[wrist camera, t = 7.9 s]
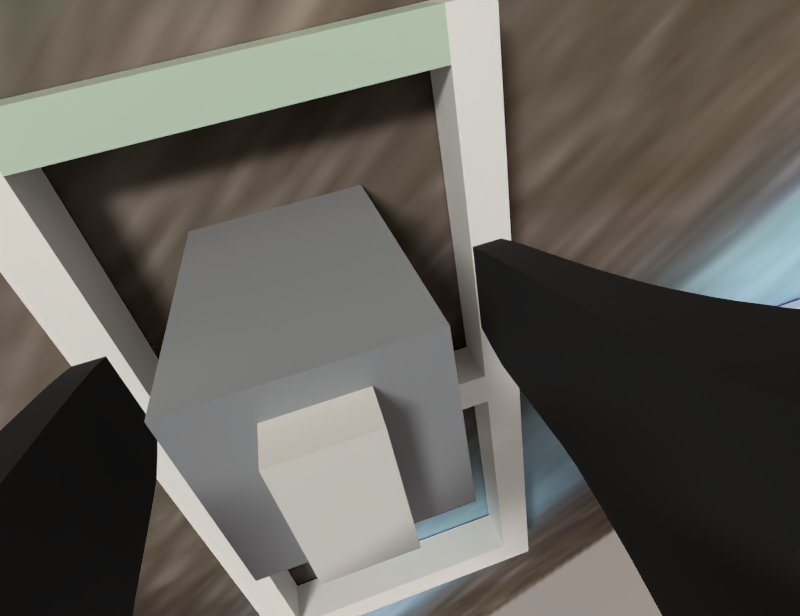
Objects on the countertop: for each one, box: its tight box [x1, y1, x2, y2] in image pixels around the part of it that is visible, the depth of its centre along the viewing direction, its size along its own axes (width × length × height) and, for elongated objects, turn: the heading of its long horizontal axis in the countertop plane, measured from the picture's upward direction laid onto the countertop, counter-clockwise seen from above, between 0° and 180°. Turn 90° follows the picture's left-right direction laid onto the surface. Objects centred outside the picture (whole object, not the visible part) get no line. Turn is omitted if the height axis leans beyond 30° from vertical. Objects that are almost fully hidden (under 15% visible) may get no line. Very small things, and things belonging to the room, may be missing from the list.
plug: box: [144, 185, 476, 585], centre depth 9 cm, size 4×4×7 cm
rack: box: [0, 0, 528, 616], centre depth 14 cm, size 10×19×1 cm, turn 11°
